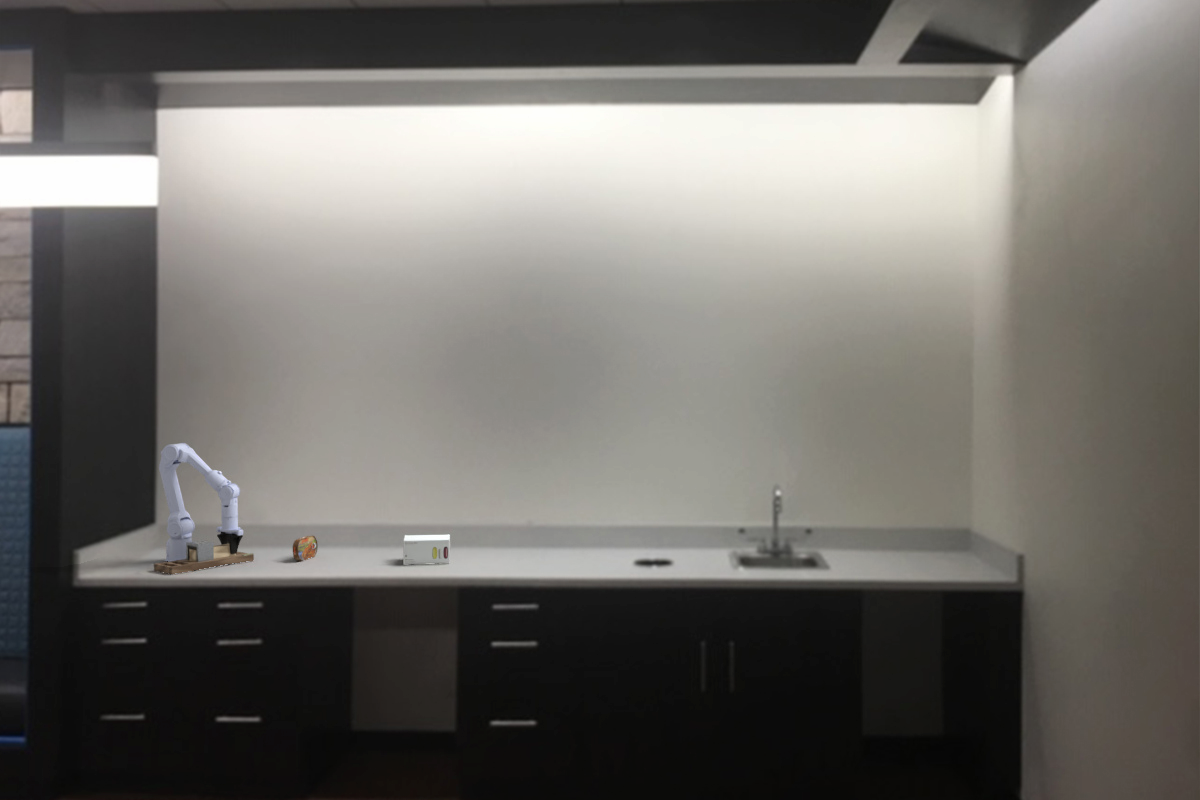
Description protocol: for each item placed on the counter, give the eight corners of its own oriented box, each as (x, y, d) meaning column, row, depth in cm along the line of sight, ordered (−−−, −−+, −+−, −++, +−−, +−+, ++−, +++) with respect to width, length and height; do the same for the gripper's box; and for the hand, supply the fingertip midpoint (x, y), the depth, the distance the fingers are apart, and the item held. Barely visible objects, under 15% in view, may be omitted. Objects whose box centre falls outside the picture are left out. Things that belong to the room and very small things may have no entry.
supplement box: (403, 566, 353) (402, 540, 353) (404, 559, 366) (404, 534, 366) (450, 564, 356) (449, 538, 356) (450, 558, 369) (449, 533, 369)
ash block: (189, 560, 352) (189, 549, 352) (229, 554, 365) (229, 543, 365) (195, 561, 350) (195, 550, 350) (235, 555, 362) (235, 544, 362)
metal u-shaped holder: (186, 559, 353) (185, 542, 353) (201, 557, 358) (201, 539, 358) (198, 562, 348) (198, 544, 348) (213, 559, 353) (213, 541, 353)
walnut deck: (154, 570, 346) (154, 563, 346) (235, 557, 371) (235, 550, 371) (172, 574, 338) (172, 566, 338) (253, 561, 364) (253, 553, 364)
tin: (298, 562, 360) (298, 540, 360) (291, 562, 361) (290, 539, 361) (318, 555, 375) (318, 533, 375) (311, 555, 376) (310, 533, 375)
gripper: (250, 516, 361) (251, 553, 361) (228, 514, 370) (228, 549, 370) (233, 519, 356) (233, 556, 356) (211, 516, 364) (211, 552, 365)
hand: (230, 553), depth 363 cm, fingers closed on ash block, 4 cm apart
